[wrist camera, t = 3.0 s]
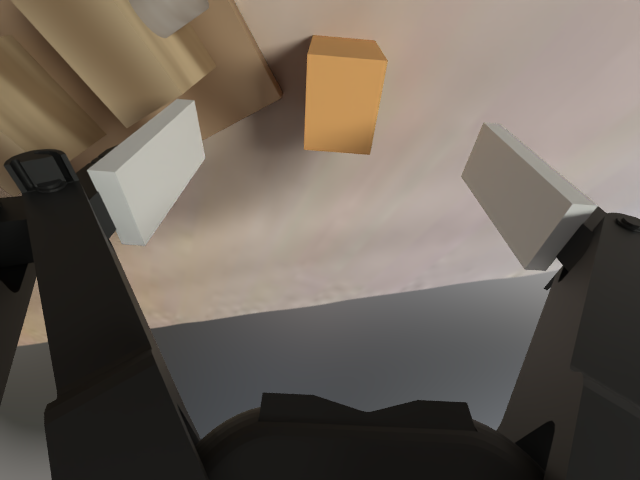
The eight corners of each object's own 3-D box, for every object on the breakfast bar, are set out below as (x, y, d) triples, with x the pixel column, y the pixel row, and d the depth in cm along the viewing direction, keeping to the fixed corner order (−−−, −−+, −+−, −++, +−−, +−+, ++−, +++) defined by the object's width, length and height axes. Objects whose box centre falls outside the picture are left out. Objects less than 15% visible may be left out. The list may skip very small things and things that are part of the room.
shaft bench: (123, -209, 14) (-16, -329, 8) (282, 93, 22) (266, 133, 16) (-90, 28, 20) (-249, 49, 14) (96, 193, 28) (40, 246, 23)
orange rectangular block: (312, 35, 19) (307, 54, 15) (374, 40, 20) (387, 60, 15) (309, 114, 23) (303, 149, 18) (362, 118, 23) (369, 154, 18)
